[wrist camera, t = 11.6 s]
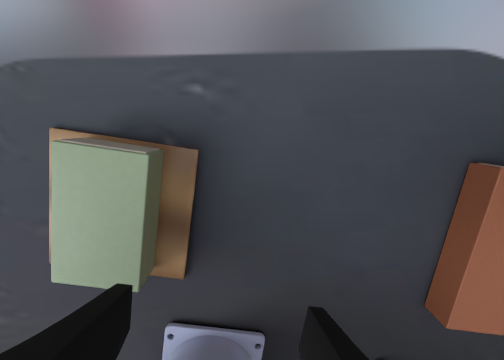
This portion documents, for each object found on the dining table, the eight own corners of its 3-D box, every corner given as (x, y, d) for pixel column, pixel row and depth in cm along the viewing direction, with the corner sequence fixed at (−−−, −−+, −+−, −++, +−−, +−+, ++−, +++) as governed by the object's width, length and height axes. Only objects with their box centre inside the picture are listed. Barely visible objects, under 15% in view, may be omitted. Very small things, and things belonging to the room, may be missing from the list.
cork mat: (185, 276, 21) (183, 279, 20) (52, 260, 20) (48, 263, 20) (199, 149, 19) (198, 149, 18) (53, 127, 18) (49, 127, 18)
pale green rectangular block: (154, 268, 20) (138, 293, 17) (79, 259, 20) (50, 282, 17) (164, 148, 18) (149, 153, 15) (82, 136, 18) (50, 138, 15)
